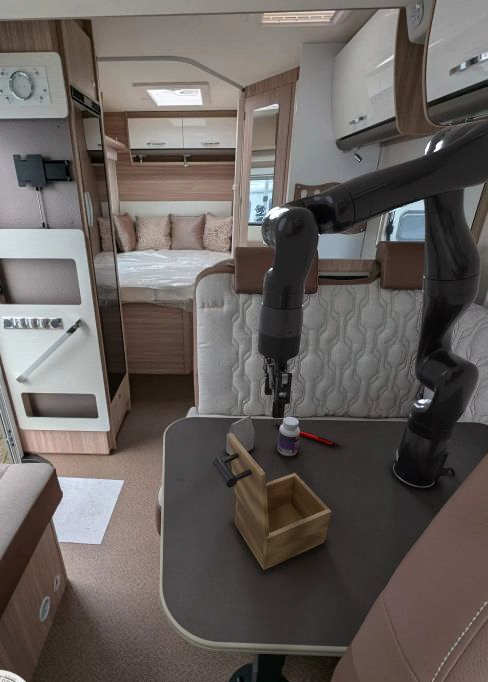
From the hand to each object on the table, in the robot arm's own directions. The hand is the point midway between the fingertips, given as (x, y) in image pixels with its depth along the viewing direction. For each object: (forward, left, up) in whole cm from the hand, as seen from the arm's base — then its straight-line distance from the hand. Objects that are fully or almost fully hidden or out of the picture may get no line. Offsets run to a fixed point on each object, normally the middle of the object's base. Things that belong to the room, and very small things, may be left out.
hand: (273, 405), depth 72 cm
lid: (+6, +12, -9) cm, 16 cm away
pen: (-17, -23, -26) cm, 39 cm away
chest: (-1, +9, -26) cm, 27 cm away
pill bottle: (-10, -17, -26) cm, 33 cm away
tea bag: (+3, -18, -26) cm, 32 cm away
